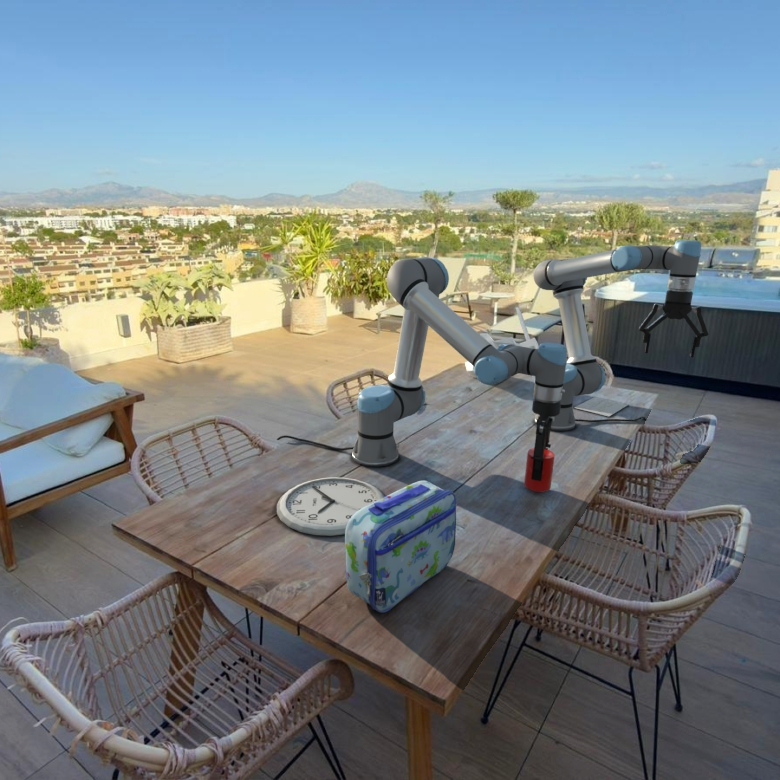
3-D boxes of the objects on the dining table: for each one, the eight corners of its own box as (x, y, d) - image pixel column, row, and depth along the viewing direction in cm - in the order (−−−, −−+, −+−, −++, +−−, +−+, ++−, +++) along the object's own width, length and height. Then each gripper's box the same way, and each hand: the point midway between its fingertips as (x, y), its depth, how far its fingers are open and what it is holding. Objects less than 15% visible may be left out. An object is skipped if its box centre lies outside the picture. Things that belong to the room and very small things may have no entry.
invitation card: (608, 416, 214) (573, 407, 224) (608, 416, 214) (573, 408, 224) (628, 404, 229) (594, 396, 238) (628, 405, 229) (594, 397, 238)
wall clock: (392, 527, 129) (268, 531, 127) (391, 533, 130) (269, 537, 127) (383, 473, 158) (282, 475, 155) (383, 478, 158) (282, 480, 156)
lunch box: (374, 626, 100) (375, 530, 93) (338, 598, 107) (337, 508, 101) (459, 568, 117) (465, 484, 111) (424, 547, 124) (427, 467, 118)
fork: (410, 411, 216) (410, 407, 215) (421, 400, 230) (421, 396, 229) (416, 412, 215) (416, 408, 214) (427, 401, 229) (427, 396, 228)
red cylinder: (523, 478, 157) (526, 447, 154) (548, 480, 156) (552, 449, 153) (525, 490, 150) (529, 457, 147) (552, 492, 149) (556, 459, 146)
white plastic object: (486, 418, 267) (465, 395, 242) (467, 346, 289) (447, 318, 264) (556, 394, 255) (543, 367, 230) (531, 321, 277) (516, 289, 252)
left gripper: (556, 412, 135) (547, 491, 141) (565, 391, 152) (556, 462, 159) (527, 408, 137) (519, 486, 144) (538, 387, 155) (531, 457, 162)
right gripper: (638, 289, 169) (628, 352, 176) (727, 293, 161) (713, 360, 167) (637, 286, 176) (627, 348, 182) (722, 291, 167) (709, 355, 174)
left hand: (538, 473), depth 152 cm, fingers closed on red cylinder, 7 cm apart
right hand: (668, 354), depth 175 cm, fingers open, 13 cm apart
